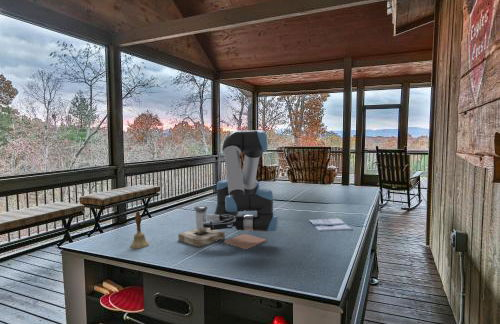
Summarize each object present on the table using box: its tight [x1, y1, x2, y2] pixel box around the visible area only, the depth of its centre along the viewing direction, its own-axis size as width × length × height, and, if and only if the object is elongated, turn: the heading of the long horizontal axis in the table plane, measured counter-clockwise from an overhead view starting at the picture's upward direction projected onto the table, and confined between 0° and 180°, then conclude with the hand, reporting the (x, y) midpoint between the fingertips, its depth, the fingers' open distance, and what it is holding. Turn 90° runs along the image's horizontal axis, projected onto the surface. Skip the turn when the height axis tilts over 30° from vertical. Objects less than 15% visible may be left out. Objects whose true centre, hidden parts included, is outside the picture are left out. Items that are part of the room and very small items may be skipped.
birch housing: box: [177, 228, 226, 248], centre depth 148 cm, size 16×16×3 cm
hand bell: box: [129, 211, 150, 249], centre depth 140 cm, size 8×8×16 cm
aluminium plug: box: [193, 205, 208, 236], centre depth 148 cm, size 6×6×16 cm
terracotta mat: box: [223, 233, 267, 250], centre depth 142 cm, size 14×14×1 cm
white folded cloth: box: [308, 217, 353, 232], centre depth 168 cm, size 19×20×2 cm
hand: (202, 220), depth 147 cm, fingers open, 13 cm apart
